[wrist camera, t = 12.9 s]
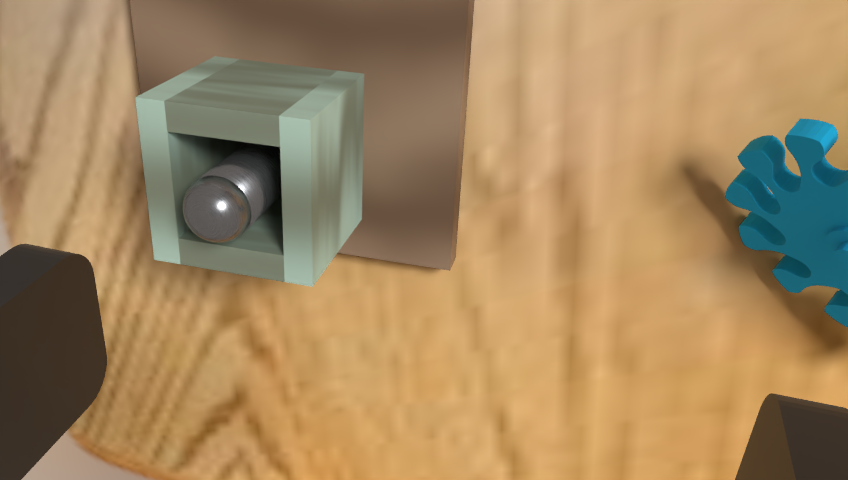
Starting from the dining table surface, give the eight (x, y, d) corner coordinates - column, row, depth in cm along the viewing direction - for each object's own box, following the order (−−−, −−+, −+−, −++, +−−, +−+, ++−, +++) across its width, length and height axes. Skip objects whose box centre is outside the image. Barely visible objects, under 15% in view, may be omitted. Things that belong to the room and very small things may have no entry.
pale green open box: (214, 56, 33) (135, 97, 28) (364, 73, 32) (310, 119, 27) (224, 198, 36) (154, 259, 31) (361, 219, 35) (312, 286, 30)
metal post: (266, 110, 34) (166, 184, 26) (321, 117, 33) (234, 194, 26) (269, 164, 35) (172, 249, 28) (321, 171, 34) (238, 259, 27)
